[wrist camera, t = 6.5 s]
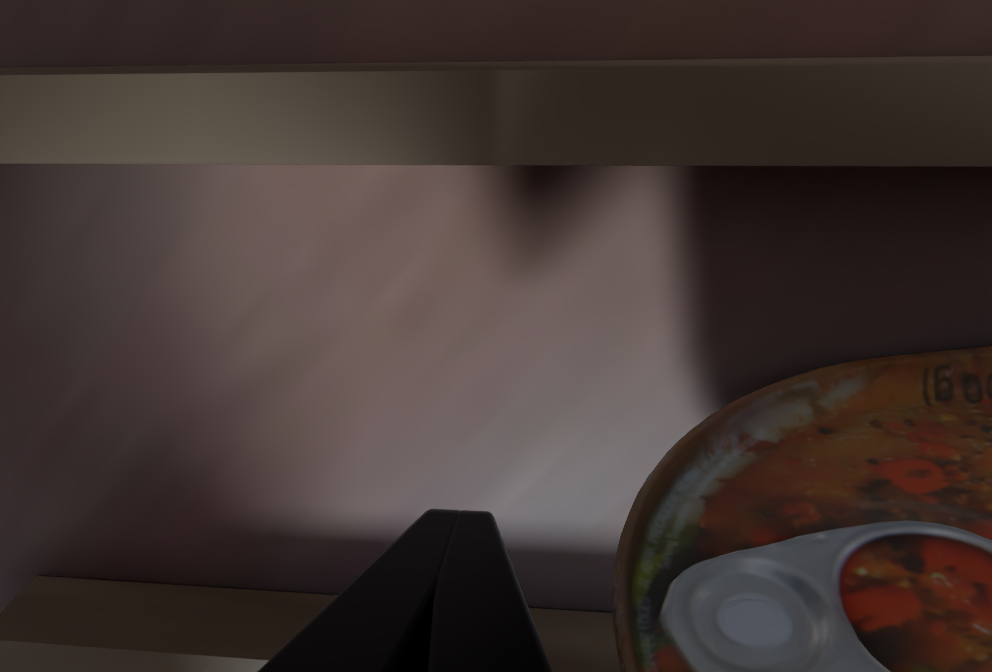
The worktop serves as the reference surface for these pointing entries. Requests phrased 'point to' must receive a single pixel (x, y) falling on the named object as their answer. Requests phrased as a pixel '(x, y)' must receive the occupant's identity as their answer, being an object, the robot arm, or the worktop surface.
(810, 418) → the tin
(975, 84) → the dock
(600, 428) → the worktop surface
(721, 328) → the worktop surface
